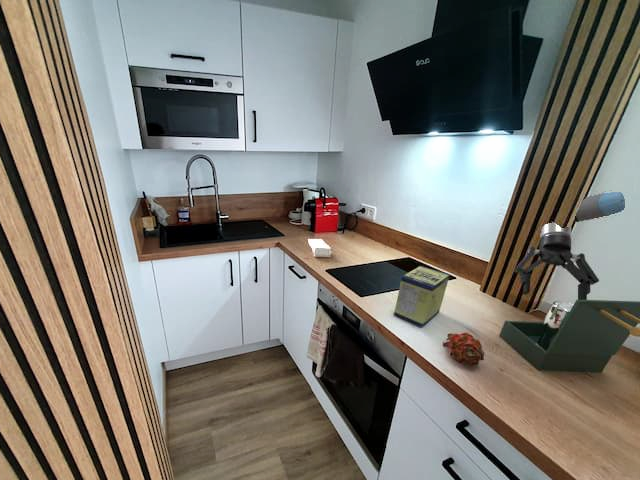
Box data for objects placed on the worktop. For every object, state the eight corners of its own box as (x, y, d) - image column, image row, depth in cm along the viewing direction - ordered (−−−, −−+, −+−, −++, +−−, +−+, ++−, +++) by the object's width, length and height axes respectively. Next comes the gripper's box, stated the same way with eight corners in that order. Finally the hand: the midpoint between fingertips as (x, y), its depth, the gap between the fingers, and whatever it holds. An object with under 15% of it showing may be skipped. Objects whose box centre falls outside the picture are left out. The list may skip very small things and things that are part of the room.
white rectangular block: (307, 250, 180) (314, 261, 153) (305, 239, 178) (312, 248, 151) (323, 247, 179) (333, 257, 152) (321, 235, 177) (330, 244, 150)
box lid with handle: (576, 299, 69) (619, 324, 60) (649, 301, 69) (702, 327, 60) (546, 351, 76) (580, 380, 67) (611, 353, 76) (654, 382, 67)
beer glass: (569, 359, 81) (593, 314, 75) (542, 356, 82) (564, 312, 76) (551, 344, 88) (573, 302, 82) (526, 341, 89) (546, 299, 83)
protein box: (439, 312, 105) (450, 273, 99) (422, 328, 95) (433, 286, 89) (411, 301, 112) (420, 265, 106) (392, 315, 102) (401, 276, 96)
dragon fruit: (472, 379, 76) (443, 355, 88) (499, 362, 76) (467, 339, 87) (459, 357, 74) (431, 335, 86) (487, 339, 74) (455, 319, 85)
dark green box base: (498, 335, 92) (504, 320, 90) (552, 337, 92) (560, 322, 90) (538, 370, 78) (546, 353, 76) (602, 372, 78) (612, 355, 76)
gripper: (597, 250, 93) (598, 311, 86) (505, 239, 103) (500, 293, 96) (614, 239, 86) (617, 304, 80) (514, 228, 96) (509, 285, 90)
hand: (553, 298), depth 88 cm, fingers open, 13 cm apart
